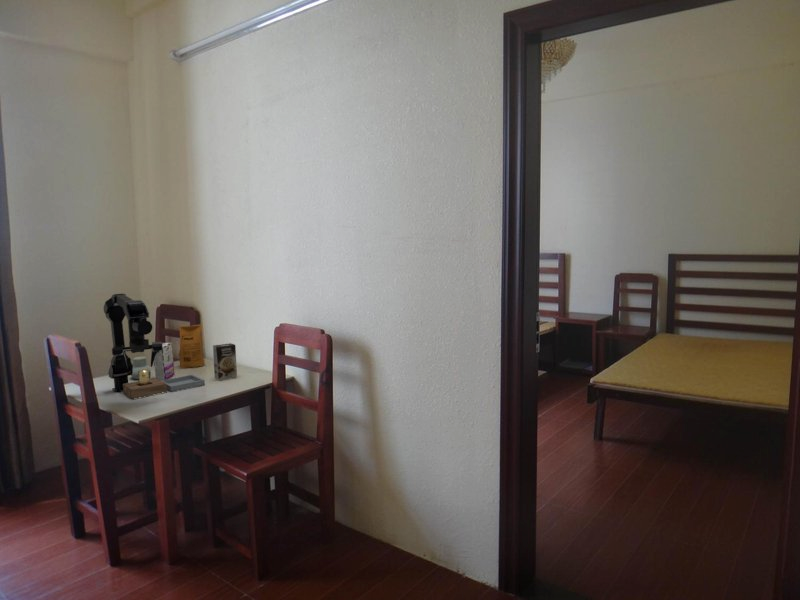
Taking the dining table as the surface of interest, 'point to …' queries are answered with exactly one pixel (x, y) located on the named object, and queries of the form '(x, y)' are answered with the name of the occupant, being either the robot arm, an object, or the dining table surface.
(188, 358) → the coffee package
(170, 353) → the candy bar box
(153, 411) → the dining table surface
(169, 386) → the tray
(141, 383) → the pin
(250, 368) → the dining table surface
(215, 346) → the coffee box
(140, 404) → the dining table surface
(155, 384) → the hitch block
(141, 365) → the air freshener
